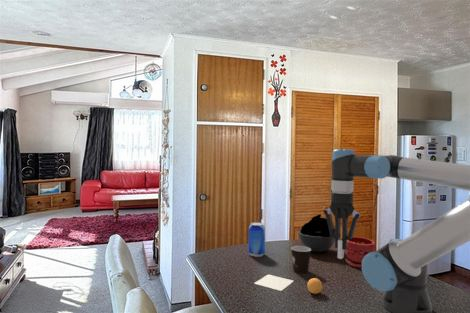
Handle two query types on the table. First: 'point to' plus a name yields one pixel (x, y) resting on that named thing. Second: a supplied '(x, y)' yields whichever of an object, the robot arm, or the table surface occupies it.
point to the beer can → (256, 239)
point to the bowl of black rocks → (316, 234)
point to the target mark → (274, 282)
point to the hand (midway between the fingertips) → (340, 257)
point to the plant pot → (358, 250)
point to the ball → (314, 285)
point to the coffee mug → (300, 259)
